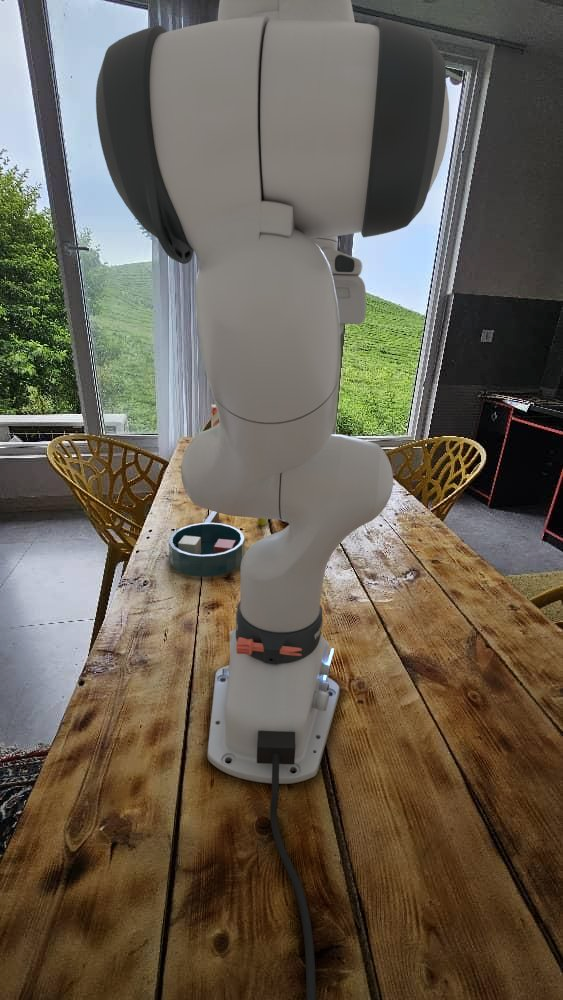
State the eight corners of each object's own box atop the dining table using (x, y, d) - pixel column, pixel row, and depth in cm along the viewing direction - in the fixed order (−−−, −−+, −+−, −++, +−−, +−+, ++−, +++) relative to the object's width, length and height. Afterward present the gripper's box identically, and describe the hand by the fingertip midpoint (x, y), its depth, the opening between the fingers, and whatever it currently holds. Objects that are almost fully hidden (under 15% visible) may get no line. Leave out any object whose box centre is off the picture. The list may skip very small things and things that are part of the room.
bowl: (234, 582, 93) (234, 559, 91) (158, 574, 95) (157, 552, 93) (250, 546, 108) (250, 526, 106) (184, 540, 110) (183, 519, 108)
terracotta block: (231, 564, 99) (231, 548, 97) (214, 562, 99) (213, 546, 98) (235, 555, 103) (235, 540, 101) (218, 554, 103) (218, 538, 101)
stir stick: (206, 538, 111) (206, 528, 110) (200, 538, 111) (200, 527, 110) (219, 519, 122) (218, 509, 121) (213, 519, 122) (213, 509, 121)
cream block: (196, 560, 100) (195, 544, 98) (178, 559, 100) (177, 543, 99) (201, 552, 103) (200, 536, 102) (184, 550, 104) (184, 535, 102)
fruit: (263, 532, 116) (264, 514, 114) (255, 531, 116) (255, 513, 114) (269, 516, 125) (269, 500, 124) (262, 515, 126) (262, 499, 124)
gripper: (244, 258, 72) (243, 348, 77) (371, 261, 70) (362, 354, 75) (251, 263, 78) (251, 346, 83) (369, 266, 76) (361, 351, 81)
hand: (304, 350), depth 79 cm, fingers open, 8 cm apart
